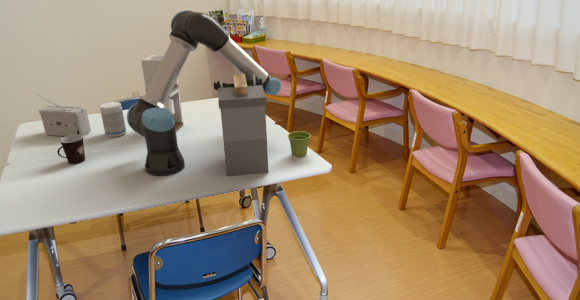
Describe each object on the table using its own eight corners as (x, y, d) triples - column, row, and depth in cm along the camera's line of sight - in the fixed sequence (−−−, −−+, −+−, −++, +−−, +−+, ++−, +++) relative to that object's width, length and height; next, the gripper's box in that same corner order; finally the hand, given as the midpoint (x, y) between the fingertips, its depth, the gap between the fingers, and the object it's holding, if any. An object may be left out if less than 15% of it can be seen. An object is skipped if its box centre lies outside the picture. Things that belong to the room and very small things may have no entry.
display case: (152, 132, 216) (141, 60, 202) (161, 125, 226) (151, 55, 212) (175, 133, 214) (165, 60, 200) (183, 125, 224) (174, 55, 210)
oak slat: (235, 95, 164) (234, 87, 163) (233, 81, 182) (233, 74, 181) (247, 94, 164) (247, 86, 163) (244, 81, 182) (244, 73, 181)
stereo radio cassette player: (92, 132, 219) (83, 92, 211) (81, 138, 211) (72, 97, 203) (55, 130, 223) (45, 91, 215) (43, 136, 216) (32, 95, 208)
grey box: (225, 176, 170) (218, 100, 158) (224, 158, 186) (218, 87, 174) (269, 172, 172) (266, 97, 161) (265, 155, 188) (262, 85, 176)
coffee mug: (83, 155, 193) (78, 133, 189) (91, 160, 187) (86, 138, 183) (54, 163, 186) (49, 141, 182) (62, 169, 180) (56, 146, 176)
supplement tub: (130, 134, 215) (124, 104, 209) (110, 139, 209) (104, 109, 203) (120, 129, 222) (115, 100, 216) (102, 134, 216) (96, 105, 210)
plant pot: (297, 148, 194) (297, 129, 190) (315, 153, 188) (315, 134, 185) (283, 155, 187) (282, 136, 184) (301, 161, 182) (301, 141, 178)
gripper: (268, 97, 199) (269, 85, 178) (211, 103, 197) (206, 90, 176) (266, 81, 200) (267, 66, 179) (210, 86, 198) (204, 72, 177)
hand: (237, 78), depth 177 cm, fingers open, 13 cm apart
